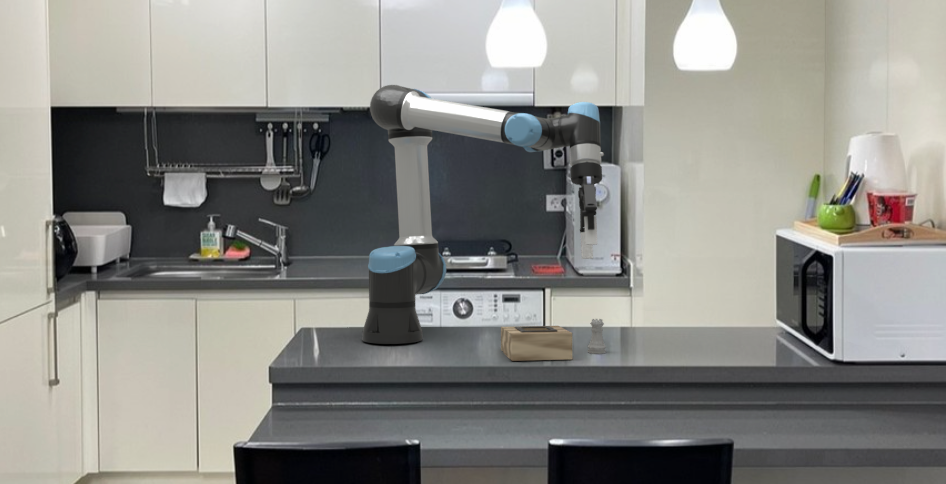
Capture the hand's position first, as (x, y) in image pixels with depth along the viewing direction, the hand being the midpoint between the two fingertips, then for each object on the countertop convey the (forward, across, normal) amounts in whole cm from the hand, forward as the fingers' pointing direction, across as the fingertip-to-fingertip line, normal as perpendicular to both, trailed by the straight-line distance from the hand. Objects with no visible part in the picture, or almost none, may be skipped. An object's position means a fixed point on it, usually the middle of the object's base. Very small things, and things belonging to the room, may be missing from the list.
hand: (589, 251), depth 226 cm
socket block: (+24, +5, +13) cm, 27 cm away
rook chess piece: (+23, +9, -2) cm, 24 cm away
